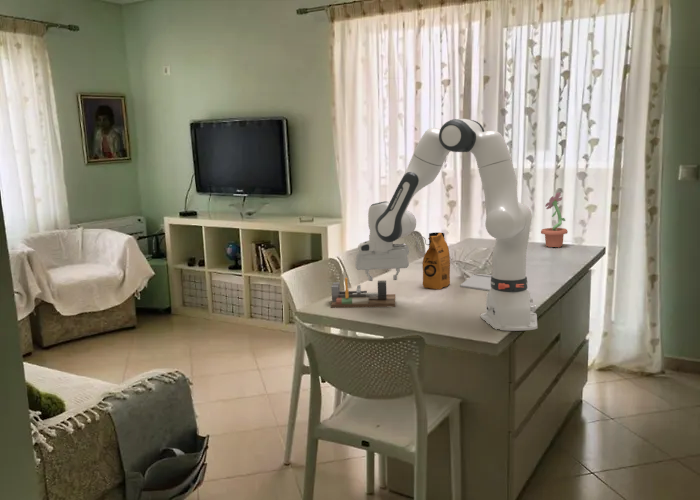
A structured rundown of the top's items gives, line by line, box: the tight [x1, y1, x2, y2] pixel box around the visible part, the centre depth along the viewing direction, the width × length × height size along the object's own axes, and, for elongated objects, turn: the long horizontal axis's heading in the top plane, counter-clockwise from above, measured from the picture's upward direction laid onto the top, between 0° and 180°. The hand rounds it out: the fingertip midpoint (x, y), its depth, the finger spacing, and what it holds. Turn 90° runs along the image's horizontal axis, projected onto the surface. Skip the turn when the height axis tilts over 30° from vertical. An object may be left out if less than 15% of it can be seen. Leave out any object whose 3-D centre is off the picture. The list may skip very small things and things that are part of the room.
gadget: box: [459, 273, 492, 292], centre depth 256 cm, size 23×15×4 cm, turn 140°
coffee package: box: [422, 232, 451, 291], centre depth 254 cm, size 10×12×22 cm
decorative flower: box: [540, 192, 568, 248], centre depth 330 cm, size 15×14×30 cm
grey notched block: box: [352, 280, 388, 299], centre depth 232 cm, size 6×13×7 cm, turn 85°
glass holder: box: [416, 232, 446, 256], centre depth 299 cm, size 9×14×15 cm, turn 81°
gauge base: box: [330, 281, 396, 309], centre depth 234 cm, size 14×24×7 cm, turn 85°
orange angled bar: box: [344, 277, 350, 298], centre depth 229 cm, size 3×1×8 cm, turn 175°
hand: (382, 280), depth 232 cm, fingers open, 8 cm apart
